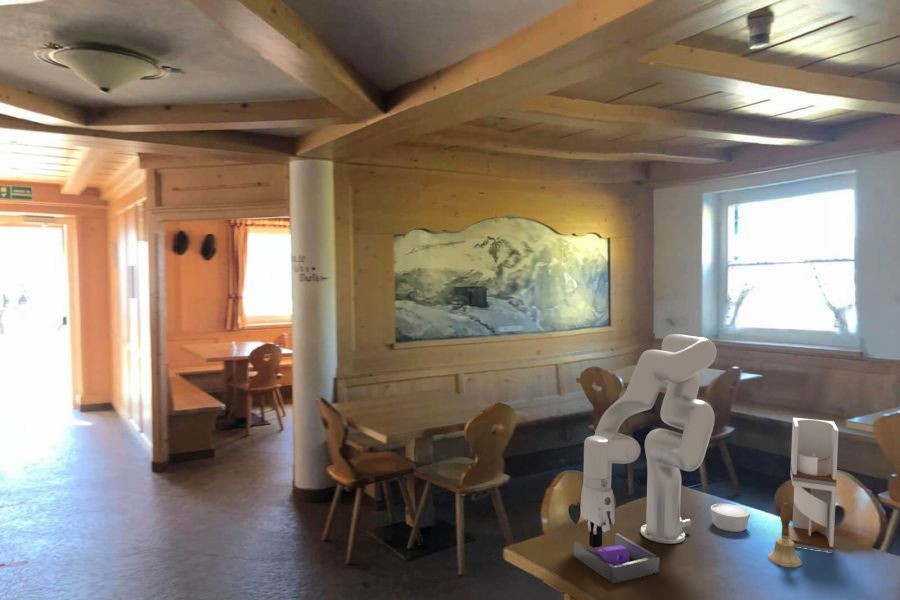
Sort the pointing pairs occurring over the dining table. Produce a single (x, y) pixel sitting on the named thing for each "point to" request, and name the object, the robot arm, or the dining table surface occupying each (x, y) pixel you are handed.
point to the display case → (813, 483)
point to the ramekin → (730, 517)
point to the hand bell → (785, 543)
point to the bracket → (613, 554)
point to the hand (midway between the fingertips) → (595, 545)
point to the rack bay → (626, 571)
